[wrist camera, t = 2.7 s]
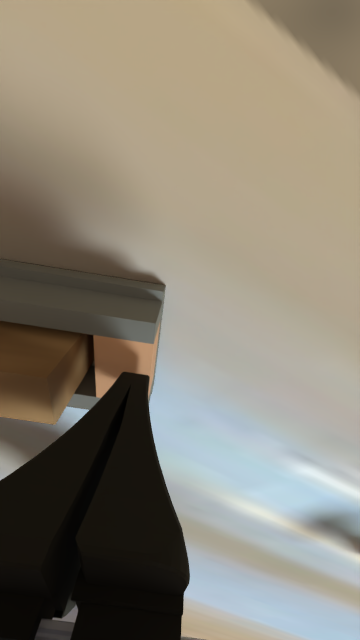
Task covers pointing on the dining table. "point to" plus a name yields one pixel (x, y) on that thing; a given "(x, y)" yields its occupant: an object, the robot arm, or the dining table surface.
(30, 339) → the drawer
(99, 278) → the rail
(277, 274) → the dining table surface
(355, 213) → the dining table surface
